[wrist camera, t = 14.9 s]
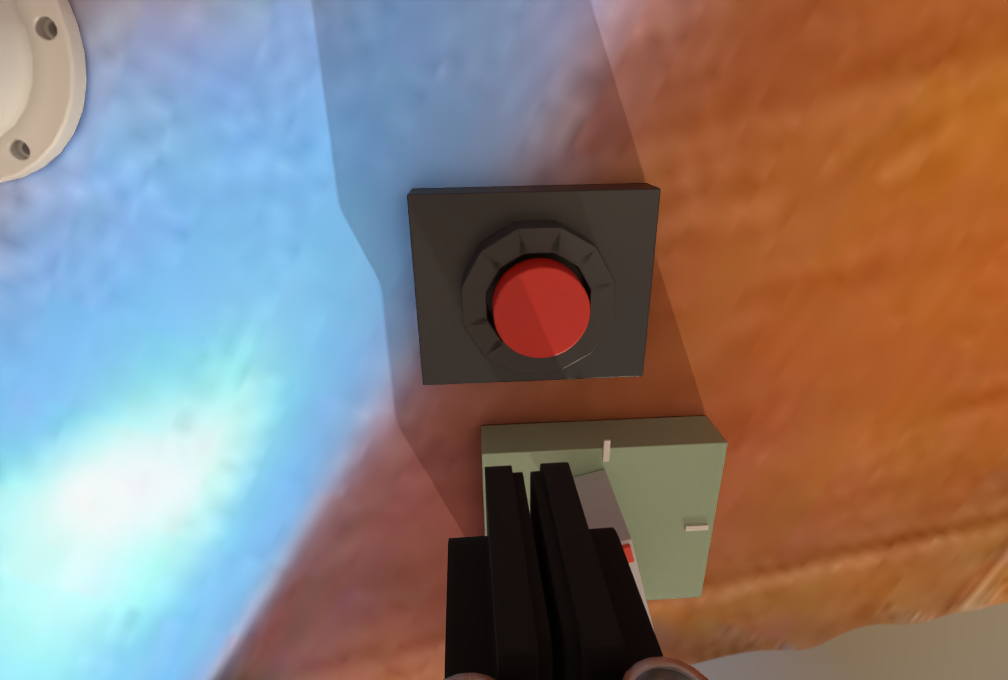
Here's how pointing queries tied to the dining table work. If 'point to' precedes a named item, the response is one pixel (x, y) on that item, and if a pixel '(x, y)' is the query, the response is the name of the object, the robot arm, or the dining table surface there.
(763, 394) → the dining table surface
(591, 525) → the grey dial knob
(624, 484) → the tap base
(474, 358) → the button block
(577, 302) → the tap button
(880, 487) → the dining table surface
